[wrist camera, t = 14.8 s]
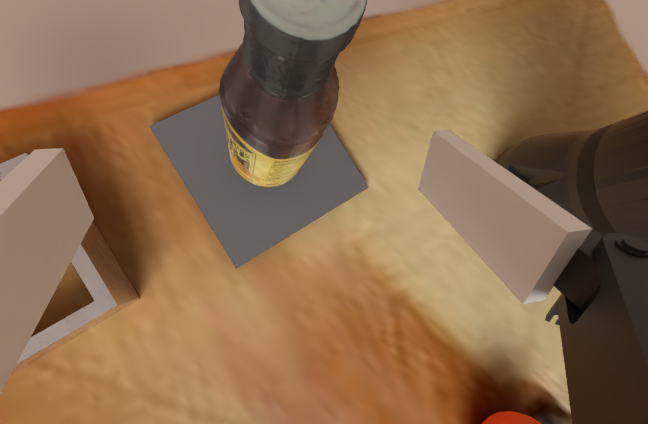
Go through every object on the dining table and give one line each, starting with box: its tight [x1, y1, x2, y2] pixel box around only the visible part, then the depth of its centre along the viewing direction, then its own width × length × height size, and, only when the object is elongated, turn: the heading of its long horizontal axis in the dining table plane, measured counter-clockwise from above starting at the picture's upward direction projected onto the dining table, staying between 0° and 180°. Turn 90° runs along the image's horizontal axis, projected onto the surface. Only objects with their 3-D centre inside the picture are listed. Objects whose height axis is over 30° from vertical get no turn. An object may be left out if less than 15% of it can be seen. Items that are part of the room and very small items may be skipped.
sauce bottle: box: [219, 0, 367, 188], centre depth 19 cm, size 6×6×20 cm
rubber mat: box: [150, 95, 368, 268], centre depth 29 cm, size 14×14×1 cm
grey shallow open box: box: [0, 153, 140, 374], centre depth 22 cm, size 11×12×4 cm
